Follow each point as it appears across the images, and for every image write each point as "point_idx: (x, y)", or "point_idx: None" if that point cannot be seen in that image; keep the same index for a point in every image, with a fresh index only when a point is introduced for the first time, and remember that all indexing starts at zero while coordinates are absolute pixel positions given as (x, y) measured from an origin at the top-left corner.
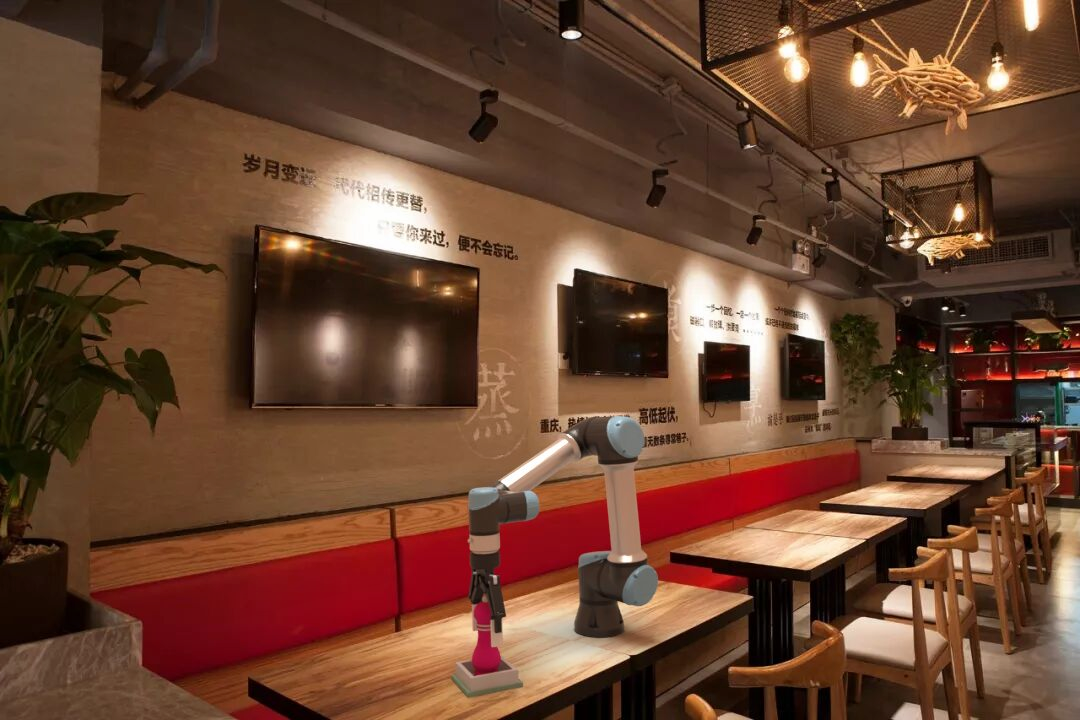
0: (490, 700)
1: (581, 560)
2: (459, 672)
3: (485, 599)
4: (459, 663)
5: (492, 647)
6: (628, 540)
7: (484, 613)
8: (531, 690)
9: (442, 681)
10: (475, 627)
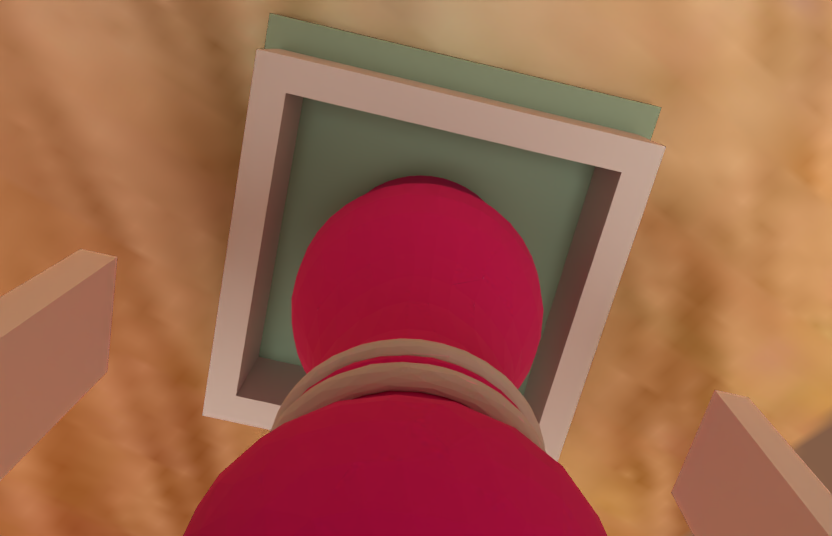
0: (664, 381)
1: None
2: None
3: None
4: (241, 407)
5: (517, 355)
6: None
7: None
8: (744, 97)
9: (225, 436)
10: (89, 368)
